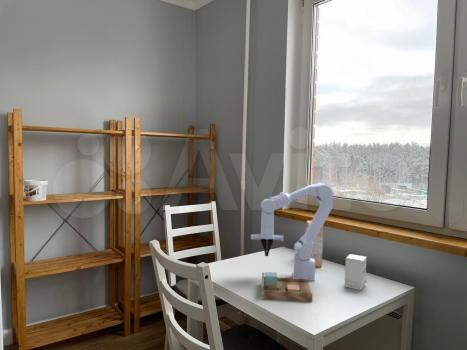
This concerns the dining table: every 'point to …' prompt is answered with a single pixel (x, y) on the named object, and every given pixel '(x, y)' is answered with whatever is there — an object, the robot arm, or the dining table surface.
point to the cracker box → (317, 247)
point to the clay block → (293, 288)
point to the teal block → (270, 279)
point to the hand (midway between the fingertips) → (266, 255)
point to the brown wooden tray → (281, 290)
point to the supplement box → (355, 271)
